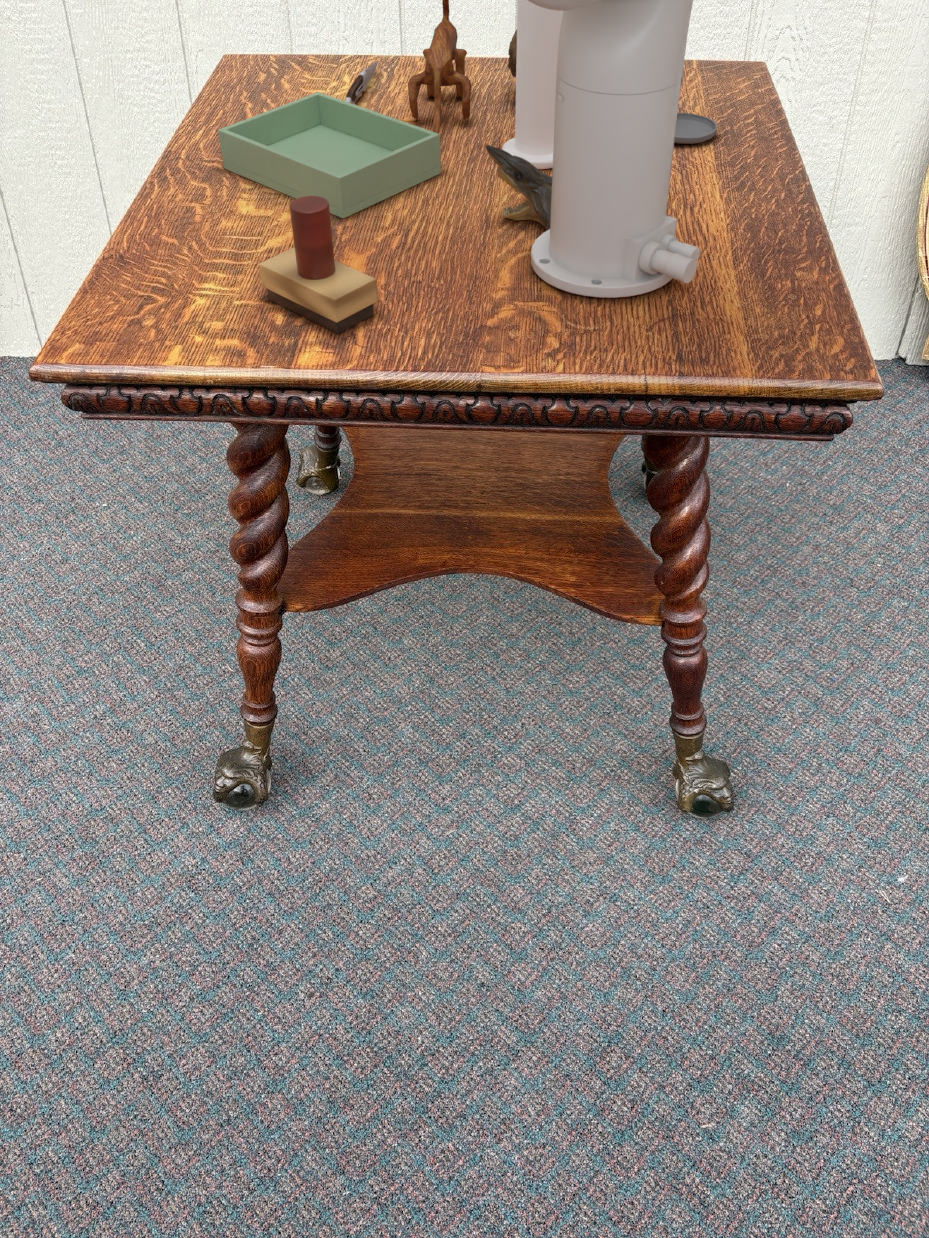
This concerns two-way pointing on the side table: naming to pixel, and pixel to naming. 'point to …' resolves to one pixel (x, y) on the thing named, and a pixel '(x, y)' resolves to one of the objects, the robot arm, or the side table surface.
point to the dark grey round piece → (693, 128)
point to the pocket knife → (360, 84)
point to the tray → (331, 152)
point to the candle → (535, 84)
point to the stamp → (317, 273)
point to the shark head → (524, 187)
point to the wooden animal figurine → (442, 70)
